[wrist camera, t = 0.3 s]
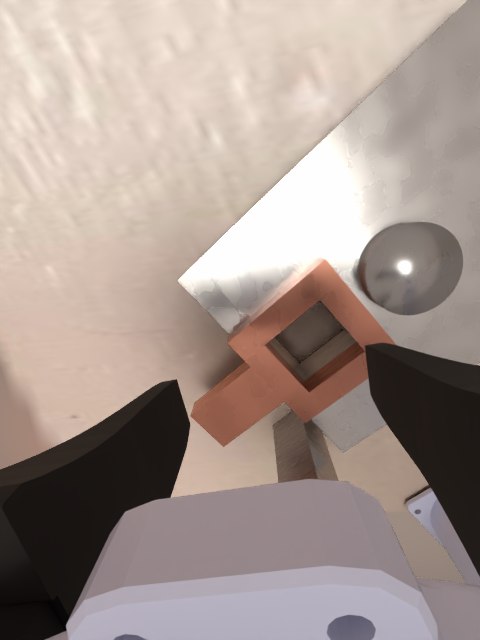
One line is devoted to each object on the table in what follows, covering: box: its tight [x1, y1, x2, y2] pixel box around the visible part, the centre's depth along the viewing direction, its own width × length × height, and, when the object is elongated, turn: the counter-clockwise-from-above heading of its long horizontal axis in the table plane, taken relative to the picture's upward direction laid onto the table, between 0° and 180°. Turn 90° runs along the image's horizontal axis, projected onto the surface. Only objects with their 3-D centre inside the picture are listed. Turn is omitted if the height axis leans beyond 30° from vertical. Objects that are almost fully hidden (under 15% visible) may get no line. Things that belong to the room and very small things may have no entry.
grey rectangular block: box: [273, 411, 338, 483], centre depth 19 cm, size 3×3×9 cm
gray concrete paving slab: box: [177, 0, 480, 453], centre depth 18 cm, size 16×25×4 cm, turn 132°
